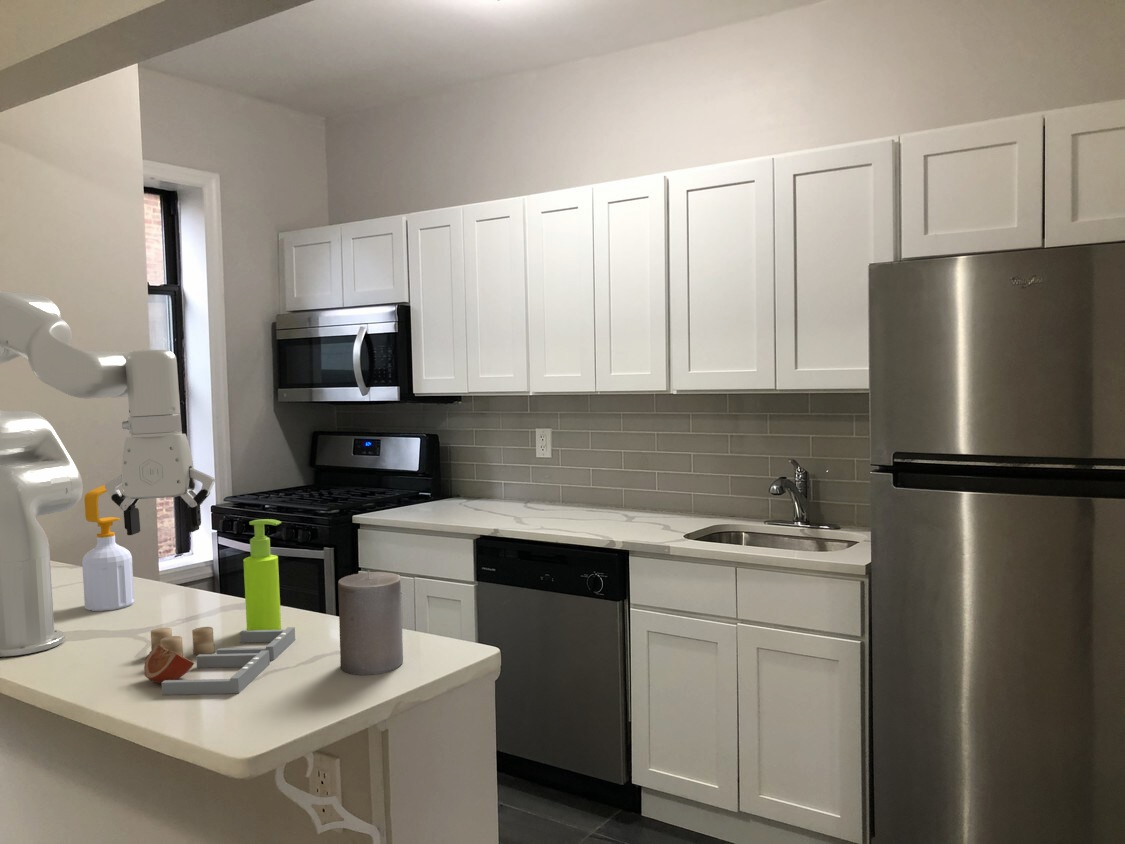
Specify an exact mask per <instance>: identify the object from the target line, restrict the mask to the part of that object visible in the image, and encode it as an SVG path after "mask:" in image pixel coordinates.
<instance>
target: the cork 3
mask: <svg viewBox="0 0 1125 844" xmlns="http://www.w3.org/2000/svg"><path fill="white" fill-rule="evenodd" d="M191 632H192V647H193V649H192V651H193V656H194V657H196V656H198V655H199V654H215V641H214V639H215V638H214V628H213V627H212V626H202V627H196V628H194V629H192V630H191Z"/></svg>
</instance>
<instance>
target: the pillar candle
mask: <svg viewBox="0 0 1125 844" xmlns="http://www.w3.org/2000/svg"><path fill="white" fill-rule="evenodd" d="M401 581H402V578H401V575H399V574H396V573H392V572H385V571H375V572H374V571H372V572H371V571H370V570H367V572H361V573H353V574H351V575H350V574H349V575H346V576H344V577H341V578H340V579H339V580H338V583H337V589H338V590H337V591H338V592H337V593H338V616H339V617H338V618H339V619H338V621H339V649H340V651H339V654H340V655H339V657H340V660H339V662H340V669H341V670H342V671H343V672H345V673H348V674H350V675H360V676H362V675H363V676H370V675H371V674H372V675H380V674H383V673H389V672H391V671H394V670H396V669H398V668H399V667H400V666H401V665H402V663H404V646H403V641H404V640H403V613H402V587H401V586H402V584H401V583H402V582H401ZM388 671H389V672H388Z"/></svg>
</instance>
